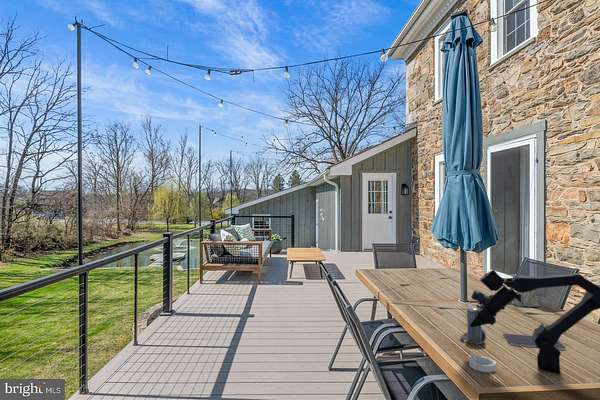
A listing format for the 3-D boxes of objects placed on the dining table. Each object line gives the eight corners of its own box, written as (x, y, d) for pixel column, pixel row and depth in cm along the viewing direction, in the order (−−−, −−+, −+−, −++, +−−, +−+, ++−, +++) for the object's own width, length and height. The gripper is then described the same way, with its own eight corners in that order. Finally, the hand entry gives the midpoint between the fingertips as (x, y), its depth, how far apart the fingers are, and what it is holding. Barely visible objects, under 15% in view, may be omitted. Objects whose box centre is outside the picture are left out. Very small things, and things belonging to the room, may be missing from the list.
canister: (482, 340, 145) (482, 308, 146) (481, 344, 141) (480, 311, 141) (468, 337, 148) (467, 306, 149) (466, 341, 144) (465, 309, 144)
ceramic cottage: (528, 300, 235) (527, 277, 235) (543, 307, 219) (542, 283, 219) (504, 301, 236) (502, 279, 236) (517, 309, 220) (515, 285, 220)
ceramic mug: (486, 339, 164) (485, 323, 165) (486, 345, 157) (485, 328, 157) (461, 336, 169) (460, 320, 169) (460, 342, 162) (459, 325, 162)
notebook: (555, 341, 163) (503, 336, 170) (554, 337, 163) (503, 333, 170) (566, 351, 151) (510, 346, 158) (566, 347, 151) (510, 342, 158)
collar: (497, 365, 137) (497, 359, 137) (494, 374, 129) (494, 368, 129) (471, 360, 142) (471, 354, 142) (467, 368, 134) (467, 362, 135)
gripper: (483, 280, 152) (455, 303, 156) (484, 288, 135) (454, 314, 139) (504, 300, 148) (476, 323, 153) (509, 311, 131) (477, 337, 136)
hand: (470, 324), depth 145 cm, fingers closed on canister, 5 cm apart
